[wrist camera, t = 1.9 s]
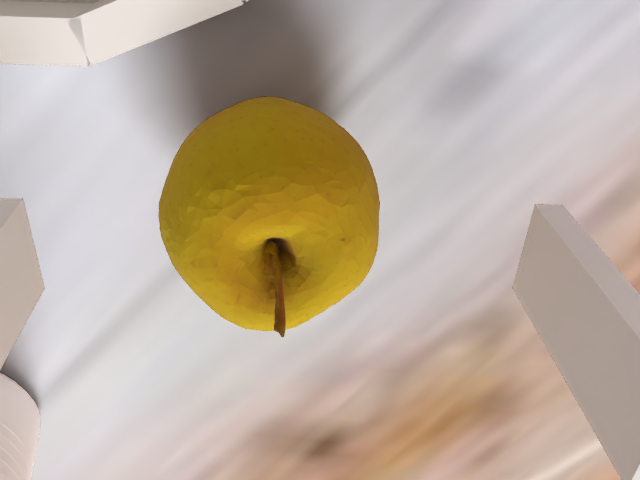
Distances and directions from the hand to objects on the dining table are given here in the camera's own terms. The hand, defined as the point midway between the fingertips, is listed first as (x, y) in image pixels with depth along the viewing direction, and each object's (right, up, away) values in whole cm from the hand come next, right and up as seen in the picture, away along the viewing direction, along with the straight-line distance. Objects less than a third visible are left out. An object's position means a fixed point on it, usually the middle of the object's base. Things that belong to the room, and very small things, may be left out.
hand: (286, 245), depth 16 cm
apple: (-1, +3, +5) cm, 6 cm away
